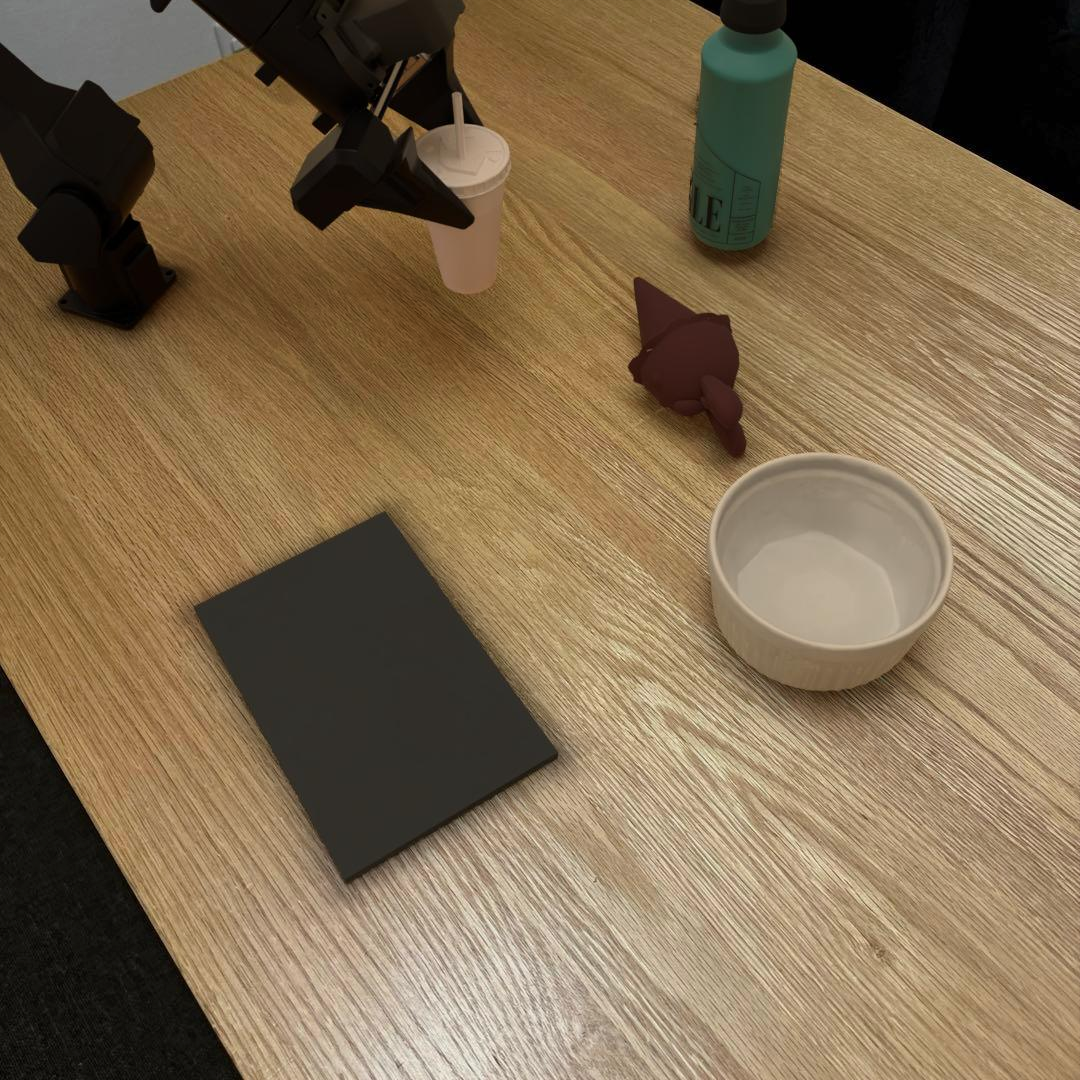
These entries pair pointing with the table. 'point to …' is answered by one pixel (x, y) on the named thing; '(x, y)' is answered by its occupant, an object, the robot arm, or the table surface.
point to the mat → (372, 693)
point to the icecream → (689, 363)
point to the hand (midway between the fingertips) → (482, 190)
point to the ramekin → (826, 569)
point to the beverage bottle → (741, 124)
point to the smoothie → (468, 198)
